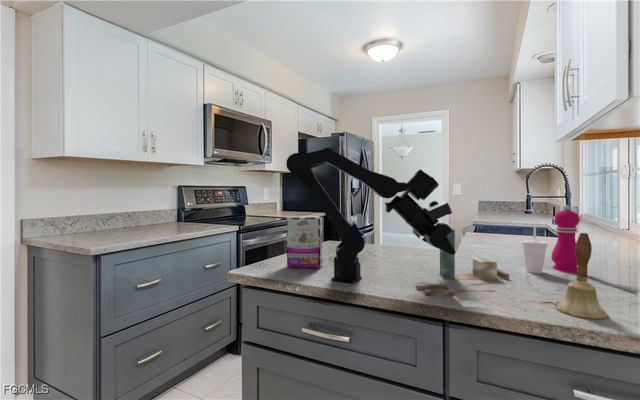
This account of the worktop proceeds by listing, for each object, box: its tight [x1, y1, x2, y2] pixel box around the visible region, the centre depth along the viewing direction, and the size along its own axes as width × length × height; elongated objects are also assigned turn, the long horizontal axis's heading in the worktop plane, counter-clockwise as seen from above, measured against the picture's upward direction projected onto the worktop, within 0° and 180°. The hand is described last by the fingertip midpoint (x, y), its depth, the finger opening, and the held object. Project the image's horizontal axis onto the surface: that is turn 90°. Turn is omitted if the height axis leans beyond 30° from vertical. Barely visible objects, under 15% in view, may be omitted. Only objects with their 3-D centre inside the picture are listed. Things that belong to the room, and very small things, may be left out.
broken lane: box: [415, 282, 496, 297], centre depth 82 cm, size 18×7×1 cm, turn 87°
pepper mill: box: [550, 204, 580, 275], centre depth 99 cm, size 7×7×20 cm
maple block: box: [472, 257, 498, 279], centre depth 91 cm, size 4×4×4 cm
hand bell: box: [555, 232, 609, 320], centre depth 67 cm, size 8×8×16 cm
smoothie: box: [521, 226, 548, 274], centre depth 96 cm, size 6×6×14 cm
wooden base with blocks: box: [436, 228, 510, 281], centre depth 91 cm, size 17×6×14 cm, turn 87°
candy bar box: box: [286, 215, 324, 269], centre depth 109 cm, size 11×5×16 cm, turn 80°
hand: (452, 252), depth 92 cm, fingers closed on wooden base with blocks, 3 cm apart
